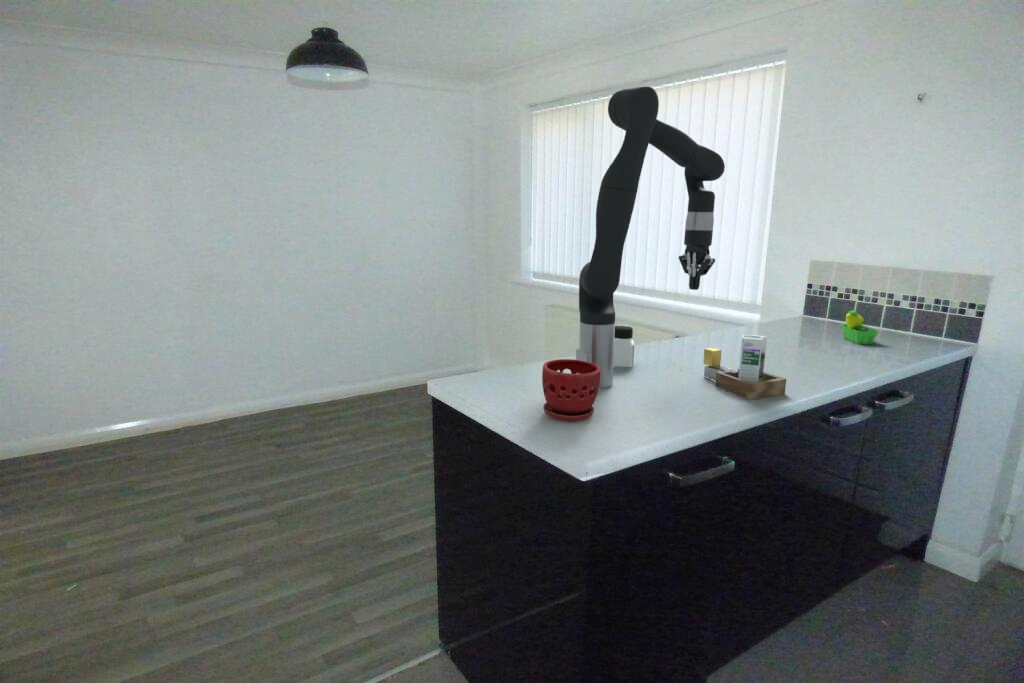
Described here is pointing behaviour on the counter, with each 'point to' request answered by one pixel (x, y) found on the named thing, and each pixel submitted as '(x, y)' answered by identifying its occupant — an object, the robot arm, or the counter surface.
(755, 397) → the wooden tray
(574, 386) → the plant pot
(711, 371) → the pin guide
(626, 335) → the medicine bottle
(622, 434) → the counter surface
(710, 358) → the lock pin
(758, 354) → the syrup box
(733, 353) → the counter surface
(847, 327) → the fruit basket
